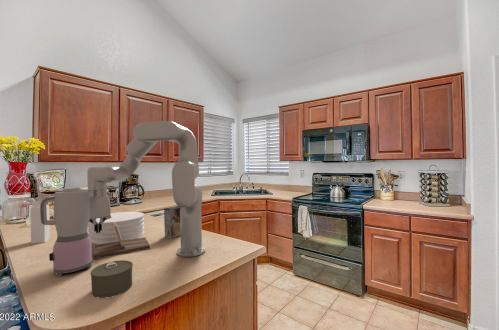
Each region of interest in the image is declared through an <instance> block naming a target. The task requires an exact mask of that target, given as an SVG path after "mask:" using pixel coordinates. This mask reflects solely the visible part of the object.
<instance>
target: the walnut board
mask: <svg viewBox="0 0 499 330" xmlns="http://www.w3.org/2000/svg"><path fill="white" fill-rule="evenodd" d="M122 241H123V239H122ZM123 245H124V246H121V244H120V242H119V241H118V242H112V243H106V244H94V246H93V252H92V253H93V255H92V260H95V259H101V258H107V257H111V256H118V255H123V254H128V253H133V252H139V251H144V250H150V249H151V246H150V243H149V241H148V240H147V237H146V236H144V237H139V238H136V239H131V240H125V241H123Z"/></svg>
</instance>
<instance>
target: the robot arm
mask: <svg viewBox="0 0 499 330" xmlns="http://www.w3.org/2000/svg"><path fill="white" fill-rule="evenodd" d="M132 134H133V139H132V140H131V141H130V142H129V143H128V144H127V145H126V146H125V150H126V153H127V156H126V157H125V159H124V160H123V162H121V163H120V164H119V165H111V166H109V165H108V166H91V167H89V168H87V175H86V176H87V190H88V191H91V192H90V193H89V200H90V218H89V222H91V223H92V224H94V232H95V231H96V233H100V231H102V223H103V222H104V221H105V220H107V219H110V218H111V215H110V214H111V200H110V196H109V195H108V185H107V184H110V183H119V182H123V181H125V180H127V179H129V178H130V177H131V176H132V175H133V174H134V173H135V172H136V171H137V169H138V168H139V166H140V163H141V161H142V159H143V158H144V157H145V156H146V155H147V153H149V152H150V150H151V149H153V147H154V146H156V144H157V143H158V142H164V141H165V142H167V141H168V142H171V143H176V144H178V161H177V162H175V163H174V165H173V167H172V170H171V183H172V185H171V186H172V196H173V197H172V198H173V201H174V203H175V205H176V206H178V207H181V210H180V233H181V235H180V248H179V249H177V251H176V253H177V255H178V256H180V257H183V258H192V257H198V256H201V255H203V254H204V253H206V247H205V246H204V245H203V239H202V236H203V235H202V234H203V233H202V228H203V227H202V206H203V205H202V203H203V191H202V189H201V187H200V185H197V184H196V182H195V179H197V178H198V176H199V173H200V168H199V155H198V144H197V143H198V142H197V138H196V136H195V134H194V133H193V132H192V131H191V130H190V129H188V128H187V127H185V126H182V125H181V124H178V123H177V122H174V121H171V120H160V121H159V120H158V121H144V122H140V123H138V124H136V126H135V127H134V128H133V131H132ZM96 218H100V222H99V224H97V222H96Z"/></svg>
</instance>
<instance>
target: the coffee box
mask: <svg viewBox="0 0 499 330" xmlns="http://www.w3.org/2000/svg"><path fill="white" fill-rule="evenodd" d="M180 210H181V207H179V206H178V205H176V206H171V207H166V208H165V207H164V208H163V213H164V214H163V221H164V237H165V238H169V239H173V238H177V237H179V236H180V237H181V233H180Z"/></svg>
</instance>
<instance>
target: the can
mask: <svg viewBox="0 0 499 330" xmlns="http://www.w3.org/2000/svg"><path fill="white" fill-rule="evenodd" d="M90 276H91V277H90V278H91V281H90V282H91V285H90V286H91V295H93V296H94V297H93V296H92V297H93V298H96V297H99V298H98V299H107V298H106V297H108V298H112V296H113V297H116V296H119V295H121V294H124V293H125V292H128V290H131V288H132V286H133V262H132V261H130V260H124V259H123V260H121V259H120V260H114V261H113V260H112V261H108V262H105V263H102V264H100V265H99V264H98V265H97V266H95V267H93V269H92V270H90Z"/></svg>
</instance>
